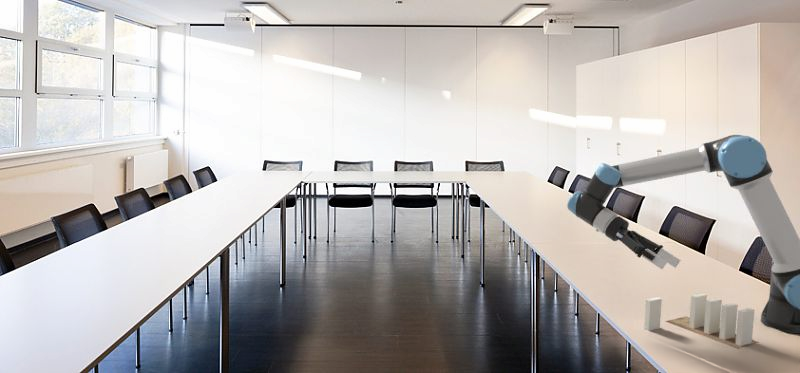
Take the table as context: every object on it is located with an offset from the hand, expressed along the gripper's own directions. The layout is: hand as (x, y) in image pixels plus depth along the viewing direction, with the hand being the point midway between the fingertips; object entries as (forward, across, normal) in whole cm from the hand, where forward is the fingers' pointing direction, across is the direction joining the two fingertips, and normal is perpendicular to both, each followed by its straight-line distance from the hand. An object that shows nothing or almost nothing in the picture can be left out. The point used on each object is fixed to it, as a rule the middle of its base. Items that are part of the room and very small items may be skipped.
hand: (671, 264), depth 174 cm
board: (+17, -14, -14) cm, 26 cm away
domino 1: (+5, -5, -21) cm, 22 cm away
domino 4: (+22, -12, -11) cm, 27 cm away
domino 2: (+13, -15, -15) cm, 25 cm away
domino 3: (+17, -14, -13) cm, 25 cm away
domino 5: (+26, -10, -9) cm, 29 cm away
